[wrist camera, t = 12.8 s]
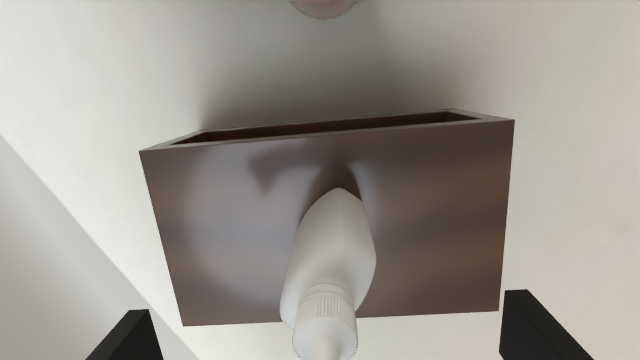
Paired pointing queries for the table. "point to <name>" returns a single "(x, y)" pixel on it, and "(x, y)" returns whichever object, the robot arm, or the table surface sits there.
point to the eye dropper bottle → (328, 277)
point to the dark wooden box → (315, 181)
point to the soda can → (323, 7)
